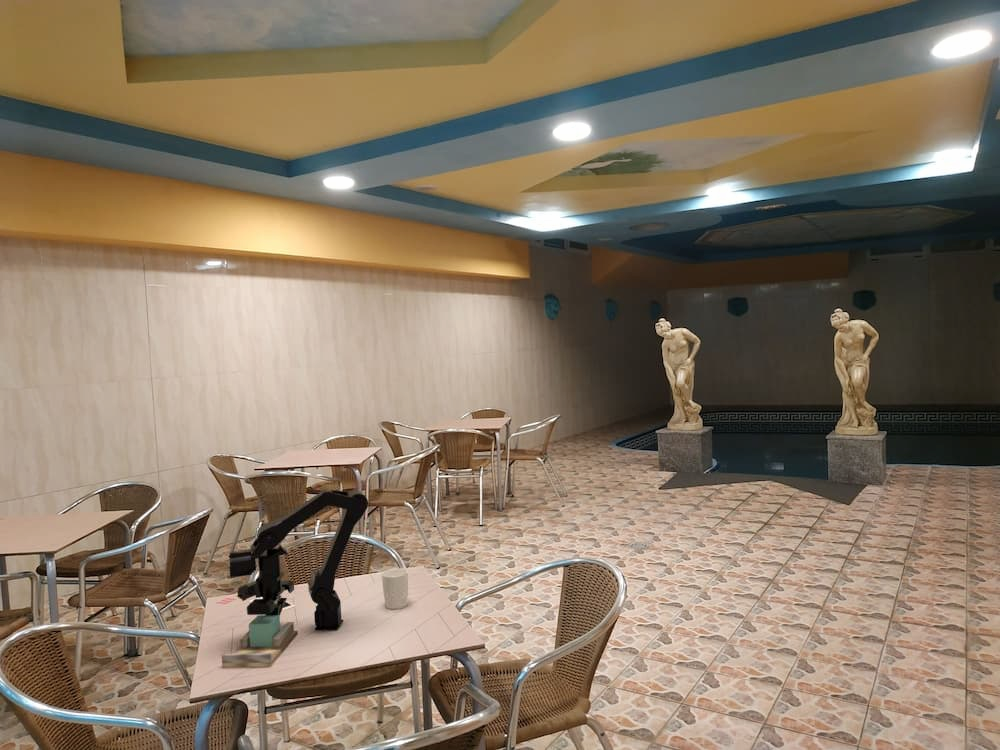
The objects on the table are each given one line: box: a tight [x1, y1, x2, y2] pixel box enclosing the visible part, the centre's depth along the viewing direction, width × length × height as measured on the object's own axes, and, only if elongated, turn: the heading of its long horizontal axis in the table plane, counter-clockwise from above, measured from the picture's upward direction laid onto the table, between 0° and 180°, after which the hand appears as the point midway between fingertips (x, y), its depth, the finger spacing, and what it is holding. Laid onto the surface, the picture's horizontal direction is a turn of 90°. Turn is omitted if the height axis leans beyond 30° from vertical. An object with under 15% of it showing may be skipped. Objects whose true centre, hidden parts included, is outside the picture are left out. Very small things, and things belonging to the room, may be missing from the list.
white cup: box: [381, 567, 409, 610], centre depth 211 cm, size 8×8×10 cm
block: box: [248, 614, 281, 647], centre depth 186 cm, size 6×6×6 cm
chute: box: [221, 621, 299, 668], centre depth 183 cm, size 12×19×3 cm, turn 176°
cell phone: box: [248, 597, 296, 612], centre depth 217 cm, size 8×16×1 cm, turn 45°
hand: (273, 627), depth 191 cm, fingers closed
